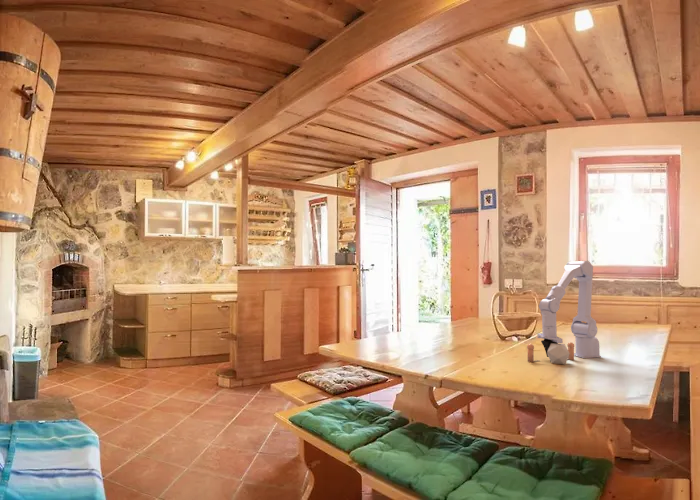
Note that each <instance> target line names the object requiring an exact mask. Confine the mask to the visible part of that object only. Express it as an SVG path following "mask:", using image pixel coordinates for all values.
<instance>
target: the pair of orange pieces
mask: <svg viewBox="0 0 700 500" xmlns="http://www.w3.org/2000/svg"><path fill="white" fill-rule="evenodd" d="M566 347H567V350H568V351H569V353H570V354H569V357H568V359H567V361H575V355H574V353H575V343H573V342H567V346H566ZM526 348H527V362H529V363H534V362H540V360H537V359H536V360H534V357H535V356H534V352H535V351H534V350H535V347H534V345H533V344H532V343H529V344H527V345H526Z"/></svg>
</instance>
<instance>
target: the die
mask: <svg viewBox="0 0 700 500" xmlns="http://www.w3.org/2000/svg"><path fill="white" fill-rule="evenodd" d="M569 354H570V353H569V351H568V347H567V346H566V344H565V343H558V344H554V343H551V345H550V347H549V349H548V351H547V355H548V359H549V361H550V363H551V364H557V365H558V364H559V365H566V364H567V361H568V360H567V359H568V357H569ZM547 355H546V356H547Z"/></svg>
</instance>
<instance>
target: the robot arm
mask: <svg viewBox="0 0 700 500" xmlns="http://www.w3.org/2000/svg"><path fill="white" fill-rule="evenodd" d="M593 274H594V266H593V264H592V263H591V262H590V261H588V260H580V261H579V260H575V261H574V260H573V261H572V260H570V261H568V262H566V264H565V265H564V272H563V274H562V276H561V278H560V280H559V282H558V283H557V285H553V286H552V287H551V289H550V290H549V292H548V294H547V295H546V297H545V298H543V299H542V300H540V302H539V304H538V309H539V310H540V314H541V327H542V329H541V330H542V333H537V339H541V344H542V346H543V348H544V351H545V355H546V357H548V355H547V351H548V349H549V347H550V345H551V343H554V344H564V343H563V341H564V339H563V338H561V337H559V336H557V335H558V334H557V312H558V311H559V310H560V304H561V300H563V298H564V297H565V295H566V293H567V292H566V289H567V287H568V286H569V285H570V283H571V282H572V280H573V279H576V280H577V281H578V295H577V315H576V316H574V317H573V318H572V323H571V325H570V330H571V333H572V334H573V337H574V338H575V341H574V342H575V343H574V345H575V352H574V357H575V356H576V357H578V358H583V359H588V358H589V359H590V358H593V359H594V358H602V356H601V354H600V352H601V351H600V341H599V339H598V338H597V337H596V336H597V334H598V327H597V321H596V319H595V318H593V317H592V316H591V315H592V300H593V299H592V297H593V295H592V293H593V278H594V277H593V276H594V275H593ZM548 358H549V357H548Z"/></svg>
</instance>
